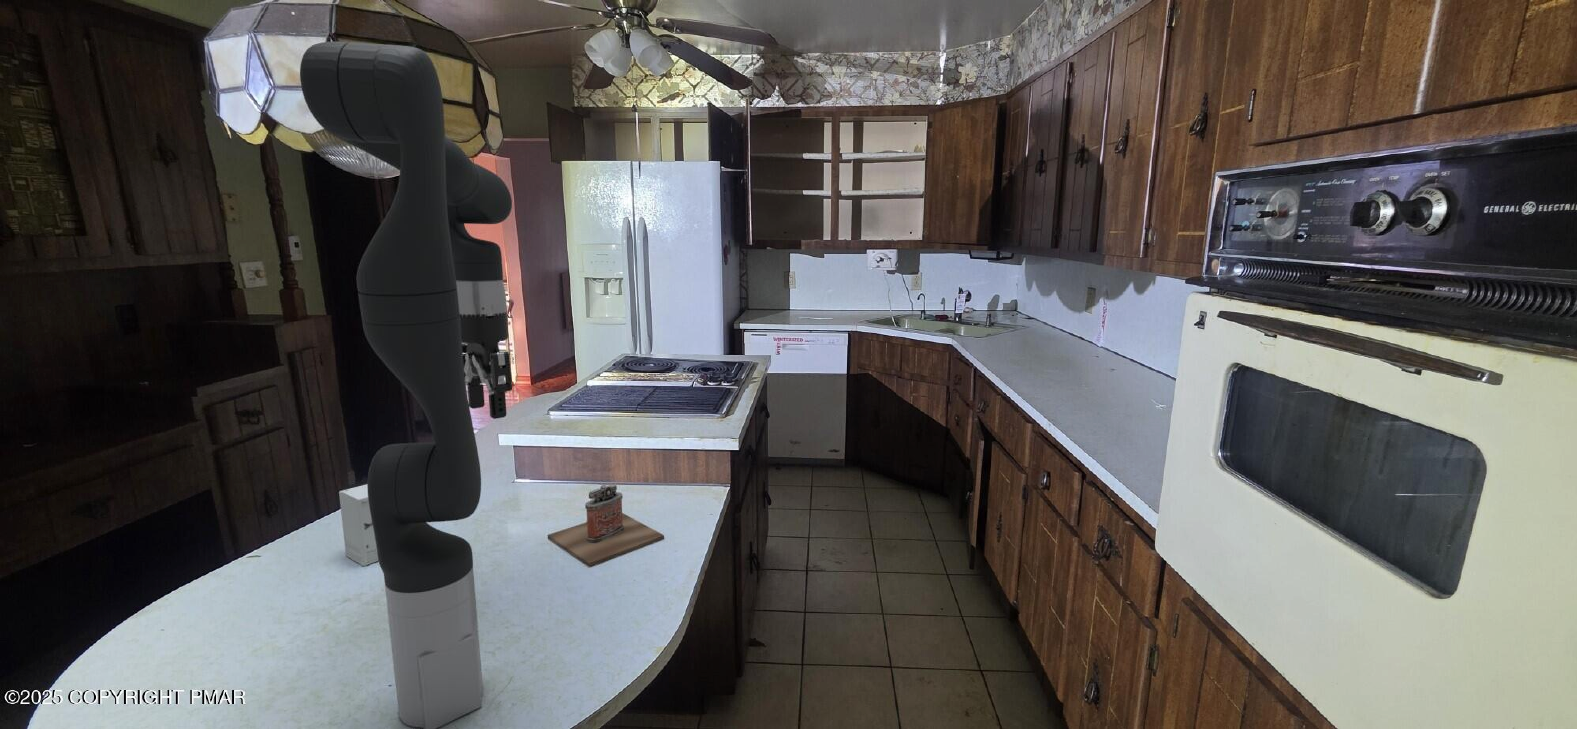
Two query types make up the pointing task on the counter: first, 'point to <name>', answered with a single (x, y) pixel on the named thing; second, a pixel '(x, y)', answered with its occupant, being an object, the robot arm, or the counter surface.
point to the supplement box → (358, 525)
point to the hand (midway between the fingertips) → (487, 412)
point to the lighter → (604, 513)
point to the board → (605, 541)
